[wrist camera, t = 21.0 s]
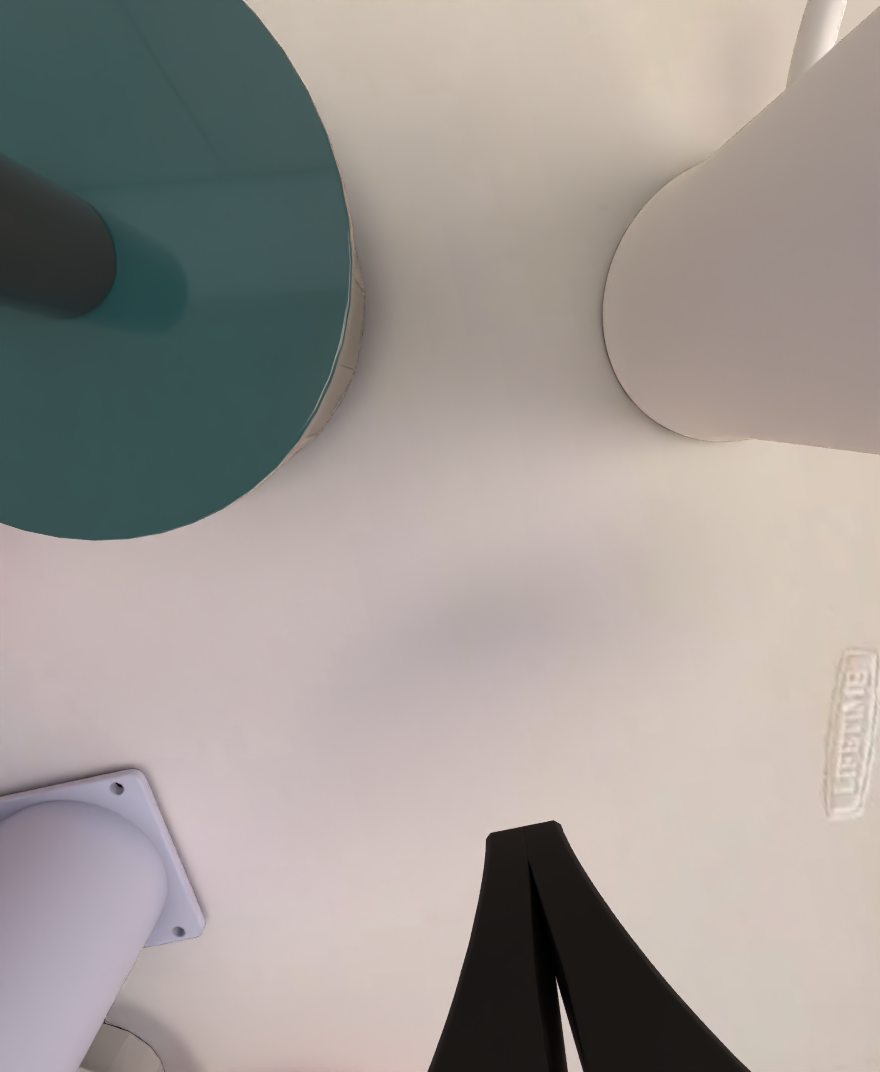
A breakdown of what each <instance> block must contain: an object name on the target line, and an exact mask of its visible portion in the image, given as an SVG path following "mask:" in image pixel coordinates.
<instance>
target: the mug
mask: <svg viewBox="0 0 880 1072" xmlns="http://www.w3.org/2000/svg"><path fill="white" fill-rule="evenodd" d="M847 1H848V0H808V2H807V5H806V8H805V11H804V14H803V18H802V21H801V24H800V28H799V31H798V35H797V39H796V43H795V47H794V51H793V55H792V59H791V64H790V68H789V73H788V78H787V83H786V89H785V91H784V92H782V93H781V94H780V95H779V96H778V97H777V98H776V99H775V100H773V101H772V102H771V103H770V104H769V105H768V106H767V107H766V108H764V109H763V110H762V111H761V112H760V113H759V114H758V115H757V116H755V117H754V118H753V119H752V120H751V121H750V122H749V123H748V124H746V125H745V126H744V127H743V128H742V129H741V130H740V131H739V132H737V133H736V134H735V135H734V136H733V137H732V138H731V139H730V140H728V141H727V142H726V143H725V144H724V145H723V146H722V147H720V148H719V149H718V150H717V151H716V152H715V153H714V154H713V155H711V156H710V157H709V158H708V159H707V160H706V161H704V162H702V163H700V164H698V165H696V166H694V167H692V168H690V169H688V170H686V171H685V172H683V173H682V174H680V175H679V176H677V177H676V178H674V179H673V180H671V181H670V182H669V183H668V184H666V185H665V186H664V187H663V188H662V189H660V190H659V191H658V192H657V193H656V194H655V195H654V196H653V197H652V198H651V199H650V200H649V201H648V202H647V203H646V205H645V206H644V207H643V208H642V209H641V211H640V212H639V213H638V214H637V216H636V217H635V218H634V220H633V221H632V223H631V224H630V226H629V227H628V229H627V231H626V232H625V234H624V236H623V238H622V240H621V242H620V244H619V246H618V248H617V250H616V253H615V255H614V258H613V260H612V263H611V266H610V269H609V273H608V277H607V281H606V286H605V292H604V300H603V329H604V337H605V343H606V348H607V352H608V355H609V358H610V361H611V364H612V367H613V369H614V372H615V374H616V376H617V378H618V380H619V382H620V383H621V385H622V387H623V388H624V390H625V391H626V393H627V394H628V395H629V397H630V398H631V399H632V400H633V402H634V403H635V404H636V405H637V406H638V407H639V408H640V409H641V410H642V411H643V412H644V413H645V414H647V415H648V416H649V417H650V418H652V419H653V420H654V421H656V422H657V423H659V424H661V425H662V426H664V427H666V428H668V429H670V430H672V431H674V432H676V433H679V434H681V435H684V436H687V437H691V438H695V439H700V440H706V441H716V442H731V441H741V440H748V439H759V440H768V441H776V442H784V443H791V444H799V445H807V446H815V447H823V448H831V449H839V450H847V451H855V452H863V453H871V454H879V455H880V6H879V7H878V8H877V9H876V10H875V11H874V12H872V13H871V14H870V15H869V16H868V17H867V18H866V19H865V20H863V21H862V22H861V23H860V24H859V25H858V26H857V27H856V28H854V29H853V30H852V31H851V32H850V33H849V34H848V35H847V36H845V37H844V38H843V39H842V40H841V41H840V42H839V43H838V44H836V45H835V43H836V39H837V35H838V31H839V28H840V24H841V20H842V17H843V14H844V11H845V7H846V4H847Z"/></svg>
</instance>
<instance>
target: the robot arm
mask: <svg viewBox="0 0 880 1072" xmlns="http://www.w3.org/2000/svg"><path fill="white" fill-rule="evenodd" d="M116 783H119V784H121V785H122V786H123V788H121V787H119V786H117V784H116ZM205 924H206V923H205V918H204V916H203V914H202V911H201V909H200V906H199V904H198V902H197V899H196V897H195V894H194V892H193V890H192V887H191V885H190V882H189V880H188V877H187V875H186V873H185V870H184V868H183V865H182V863H181V861H180V858H179V856H178V853H177V851H176V849H175V846H174V844H173V841H172V839H171V837H170V834H169V832H168V829H167V827H166V824H165V822H164V820H163V817H162V815H161V812H160V810H159V808H158V805H157V803H156V800H155V798H154V796H153V793H152V791H151V788H150V786H149V784H148V781H147V779H146V777H145V775H144V774H143V773H142V772H141V771H139V770H136V769H127V770H123V771H118V772H113V773H109V774H104V775H99V776H95V777H90V778H85V779H81V780H76V781H71V782H67V783H62V784H57V785H53V786H48V787H43V788H39V789H34V790H29V791H24V792H20V793H15V794H10V795H6V796H1V797H0V1072H77V1070H78V1068H79V1066H80V1064H81V1062H82V1060H83V1058H84V1057H85V1055H86V1053H87V1051H88V1049H89V1047H90V1045H91V1044H92V1042H93V1040H94V1038H95V1036H96V1034H97V1032H98V1030H99V1029H100V1027H101V1025H102V1023H103V1021H104V1019H105V1017H106V1016H107V1014H108V1012H109V1010H110V1008H111V1006H112V1004H113V1002H114V1001H115V999H116V997H117V995H118V993H119V991H120V989H121V988H122V986H123V984H124V982H125V980H126V978H127V976H128V974H129V973H130V971H131V969H132V967H133V965H134V963H135V961H136V960H137V958H138V956H139V954H140V952H141V950H142V948H146V947H151V946H156V945H162V944H167V943H172V942H177V941H182V940H187V939H192V938H196V937H198V936H200V935H201V934H202V931H203V929H204V927H205ZM180 927H181V928H180ZM556 979H557V983H558V986H559V989H560V993H561V996H562V1000H563V1003H564V1007H565V1010H566V1014H567V1017H568V1020H569V1024H570V1027H571V1031H572V1034H573V1038H574V1041H575V1045H576V1048H577V1051H578V1055H579V1058H580V1062H581V1065H582V1069H583V1072H751V1071H750V1070H749V1069H748V1068H747V1067H746V1066H745V1065H744V1064H743V1063H741V1062H740V1061H739V1060H738V1059H737V1058H736V1057H735V1056H734V1055H733V1054H732V1053H731V1052H730V1050H729V1049H728V1048H727V1047H726V1046H725V1045H724V1044H723V1043H722V1042H721V1041H720V1040H719V1039H718V1038H717V1037H716V1036H715V1035H714V1034H713V1032H712V1031H711V1030H710V1029H709V1028H708V1027H707V1026H706V1025H705V1024H704V1023H703V1022H702V1021H701V1020H700V1019H699V1018H698V1016H697V1015H696V1014H695V1013H694V1012H693V1011H692V1010H691V1009H690V1007H689V1006H688V1005H687V1004H686V1003H685V1002H684V1001H683V1000H682V998H681V997H680V996H679V995H678V994H677V993H676V992H675V991H674V989H673V988H672V987H671V986H670V985H669V984H668V982H667V981H666V980H665V979H664V978H663V976H662V975H661V974H660V973H659V972H658V970H657V969H656V968H655V967H654V966H653V964H652V963H651V962H650V961H649V959H648V958H647V957H646V956H645V954H644V953H643V952H642V951H641V949H640V948H639V947H638V945H637V944H636V943H635V942H634V940H633V939H632V938H631V937H630V935H629V934H628V933H627V931H626V930H625V929H624V927H623V926H622V925H621V923H620V922H619V920H618V919H617V918H616V916H615V915H614V913H613V912H612V911H611V909H610V908H609V906H608V905H607V903H606V902H605V901H604V899H603V898H602V896H601V895H600V894H599V892H598V891H597V889H596V888H595V886H594V885H593V883H592V882H591V880H590V878H589V877H588V875H587V874H586V872H585V870H584V869H583V867H582V865H581V864H580V862H579V861H578V859H577V857H576V855H575V854H574V852H573V850H572V848H571V846H570V844H569V842H568V840H567V838H566V836H565V834H564V832H563V829H562V827H561V824H559V823H557V822H556V821H554V820H553V821H548V822H543V823H538V824H533V825H528V826H523V827H518V828H513V829H508V830H503V831H498V832H493V833H490V835H489V836H488V837H487V839H486V853H485V863H484V871H483V878H482V884H481V889H480V895H479V901H478V905H477V910H476V914H475V919H474V923H473V928H472V932H471V937H470V941H469V945H468V949H467V953H466V956H465V960H464V963H463V967H462V970H461V974H460V977H459V981H458V984H457V988H456V991H455V995H454V998H453V1001H452V1004H451V1007H450V1011H449V1014H448V1017H447V1020H446V1023H445V1026H444V1029H443V1031H442V1034H441V1037H440V1040H439V1043H438V1045H437V1048H436V1051H435V1054H434V1056H433V1059H432V1062H431V1064H430V1067H429V1070H428V1072H568V1069H567V1062H566V1054H565V1046H564V1038H563V1030H562V1022H561V1015H560V1007H559V999H558V991H557V983H556Z"/></svg>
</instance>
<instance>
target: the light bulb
mask: <svg viewBox="0 0 880 1072" xmlns="http://www.w3.org/2000/svg"><path fill="white" fill-rule="evenodd" d="M77 1072H164V1069H163V1065H162V1062H161V1060H160V1059H159V1057H158V1056H157V1055H156V1054H155V1052H154V1051H153V1050H152V1049H151V1047H150V1046H149V1045H147V1044H146V1043H144V1042H143V1041H142V1040H140V1039H139V1038H138V1037H136V1036H135V1035H133V1034H132V1033H131V1032H128V1031H125V1030H122V1029H119V1028H116V1027H113V1026H110V1025H107V1024H104V1023H102V1025H101V1027H100V1029H99V1030H98V1032H97V1034H96V1036H95V1038H94V1040H93V1042H92V1044H91V1045H90V1047H89V1049H88V1051H87V1053H86V1055H85V1057H84V1058H83V1060H82V1062H81V1064H80V1066H79V1068H78V1070H77Z"/></svg>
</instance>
